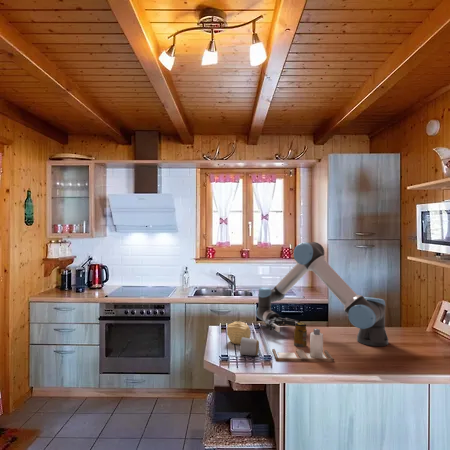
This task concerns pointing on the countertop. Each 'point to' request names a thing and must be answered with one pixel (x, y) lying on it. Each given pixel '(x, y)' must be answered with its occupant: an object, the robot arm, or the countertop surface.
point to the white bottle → (316, 344)
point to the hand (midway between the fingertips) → (290, 328)
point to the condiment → (300, 334)
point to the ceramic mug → (249, 346)
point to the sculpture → (238, 332)
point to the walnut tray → (301, 356)
